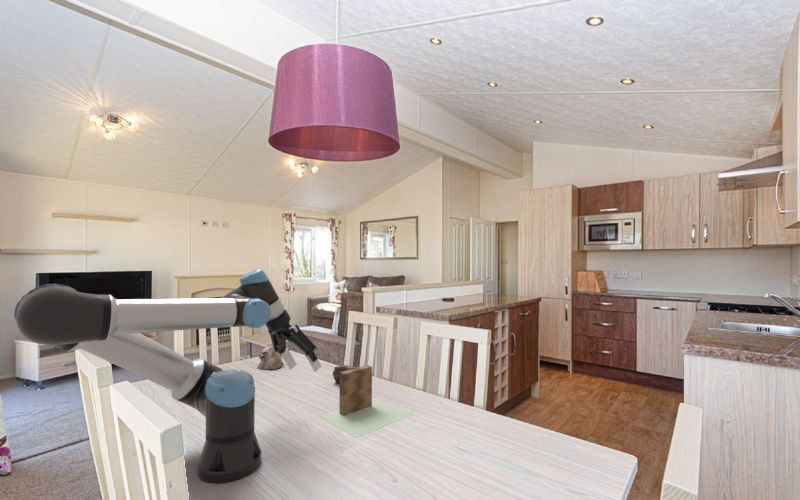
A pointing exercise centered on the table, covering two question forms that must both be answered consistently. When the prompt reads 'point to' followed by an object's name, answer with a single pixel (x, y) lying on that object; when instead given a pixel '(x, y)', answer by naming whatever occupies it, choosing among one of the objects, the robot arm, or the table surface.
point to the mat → (367, 418)
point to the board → (355, 390)
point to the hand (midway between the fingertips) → (305, 367)
